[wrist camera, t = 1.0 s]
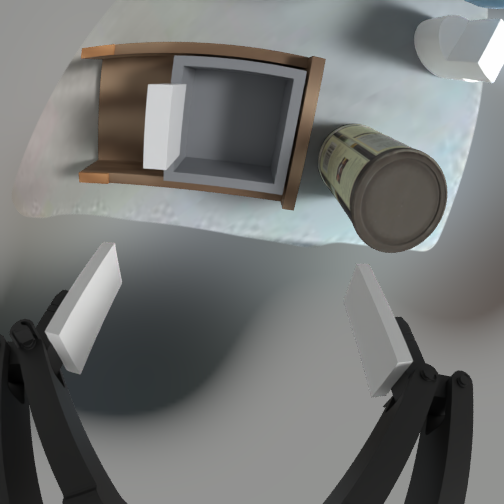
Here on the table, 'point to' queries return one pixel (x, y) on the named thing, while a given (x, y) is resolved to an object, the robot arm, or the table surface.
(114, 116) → the bay
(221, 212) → the table surface
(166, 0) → the table surface
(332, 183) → the coffee can
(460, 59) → the base with upright slab
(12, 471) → the robot arm
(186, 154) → the box
